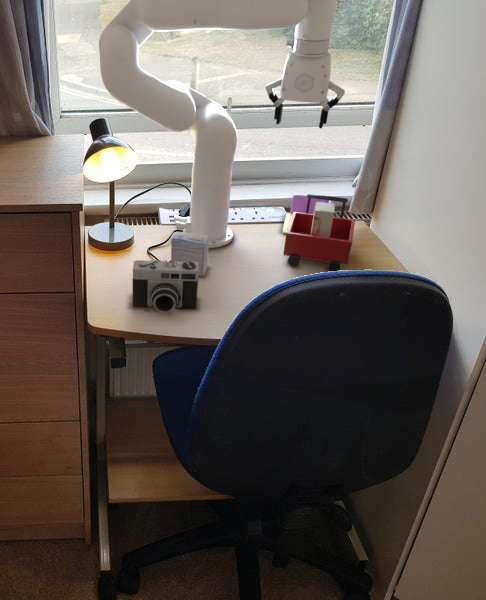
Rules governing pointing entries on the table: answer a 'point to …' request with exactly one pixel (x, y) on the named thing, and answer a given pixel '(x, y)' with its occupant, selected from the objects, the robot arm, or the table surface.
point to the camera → (165, 285)
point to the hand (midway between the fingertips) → (299, 124)
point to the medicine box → (190, 249)
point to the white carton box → (322, 219)
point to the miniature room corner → (300, 207)
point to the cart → (319, 238)
